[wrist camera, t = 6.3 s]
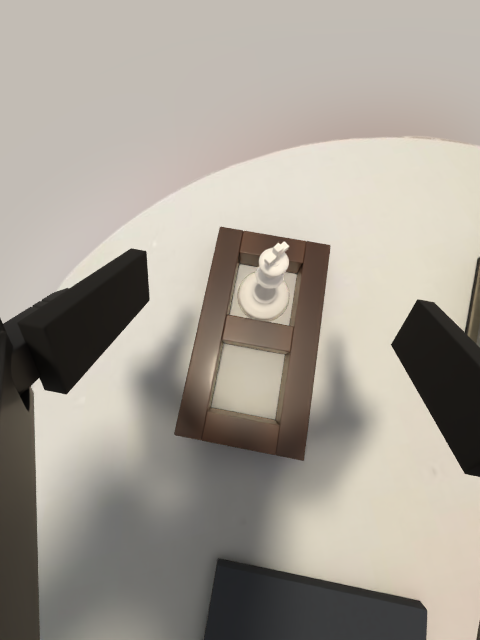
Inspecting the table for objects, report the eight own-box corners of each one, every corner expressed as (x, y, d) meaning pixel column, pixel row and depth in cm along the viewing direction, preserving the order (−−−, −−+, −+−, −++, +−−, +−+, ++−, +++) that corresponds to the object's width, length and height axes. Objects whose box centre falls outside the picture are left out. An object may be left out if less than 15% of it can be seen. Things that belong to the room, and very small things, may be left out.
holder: (180, 428, 23) (173, 435, 20) (221, 239, 26) (219, 226, 24) (296, 451, 22) (304, 461, 20) (322, 257, 26) (330, 245, 24)
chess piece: (227, 295, 25) (219, 245, 15) (263, 262, 26) (278, 195, 16) (262, 332, 25) (278, 304, 15) (299, 297, 25) (337, 249, 15)
